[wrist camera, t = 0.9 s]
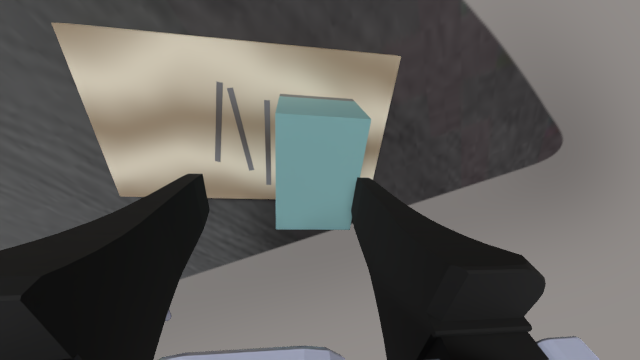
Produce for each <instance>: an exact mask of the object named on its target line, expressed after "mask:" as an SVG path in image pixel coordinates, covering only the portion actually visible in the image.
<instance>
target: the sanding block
mask: <svg viewBox="0 0 640 360" xmlns="http://www.w3.org/2000/svg"><path fill="white" fill-rule="evenodd" d="M370 124H371V118H370V117H369V116H368V115H367V114H366V113H365V112H364V111H363V110H362V109H361V108H360V107H359V105H358V104H357V103H356V102H355V101H354V100H353V99H346V98H332V97H318V96H304V95H290V94H280V96H279V100H278V104H277V108H276V112H275V160H276V229H321V230H350V225H351V220H352V214H351V208H352V203H353V197H354V191H355V186H356V180H357V177H359V178H360V174H361V169H362V164H363V159H364V154H365V149H366V144H367V139H368V134H369V129H370Z"/></svg>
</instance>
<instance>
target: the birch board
mask: <svg viewBox="0 0 640 360" xmlns="http://www.w3.org/2000/svg"><path fill="white" fill-rule="evenodd" d="M52 26H53V28H54V31H55V33H56V36H57V38H58V41H59V43H60V46H61V48H62V51H63V53H64V56H65V58H66V61H67V63H68V66H69V68H70V71H71V74H72V76H73V79H74V81H75V84H76V86H77V89H78V91H79V94H80V96H81V99H82V101H83V104H84V106H85V109H86V111H87V114H88V116H89V119H90V122H91V124H92V127H93V129H94V132H95V134H96V137H97V139H98V142H99V144H100V147H101V149H102V152H103V154H104V157H105V159H106V162H107V164H108V167H109V169H110V172H111V175H112V177H113V180H114V182H115V185H116V187H117V190H118V192H119V195H120V196H127V197H146V196H148V195H149V194H151V193H153V192H155V191H157V190H158V189H160V188H162V187H164V186H166V185H167V184H169V183H171V182H173V181H175V180H176V179H178V178H180V177H182V176H184V175H186V174H203V178H204V184H205V189H206V194H207V198H235V199H276V160H275V112H276V108H277V104H278V100H279V96H280V94H290V95H304V96H318V97H332V98H346V99H353V100H354V101H355V102H356V103H357V104H358V105H359V107H360V108H361V109H362V110H363V111H364V112H365V113H366V114H367V115H368V116H369V117H370V118H371V124H370V129H369V134H368V139H367V144H366V149H365V154H364V159H363V164H362V169H361V174H360V178H370V179H372V180H373V177H374V172H375V168H376V164H377V159H378V155H379V150H380V146H381V142H382V137H383V133H384V129H385V124H386V120H387V116H388V111H389V107H390V102H391V98H392V94H393V89H394V85H395V81H396V76H397V72H398V68H399V63H400V59H401V56H396V55H388V54H378V53H367V52H357V51H347V50H336V49H326V48H316V47H306V46H295V45H285V44H275V43H265V42H254V41H244V40H234V39H223V38H213V37H203V36H193V35H182V34H172V33H162V32H152V31H141V30H131V29H121V28H110V27H100V26H90V25H80V24H67V23H52Z"/></svg>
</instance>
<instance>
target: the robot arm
mask: <svg viewBox="0 0 640 360" xmlns="http://www.w3.org/2000/svg"><path fill="white" fill-rule="evenodd" d="M208 213H209V205H208V199H207V194H206V189H205V184H204V178H203V174H186V175H184V176H182V177H180V178H178V179H176V180H175V181H173V182H171V183H169V184H167V185H166V186H164V187H162V188H160V189H158V190H157V191H155V192H153V193H151V194H149V195H148V196H146V197H144V198H142V199H140V200H138V201H136V202H134V203H132V204H130V205H128V206H126V207H124V208H122V209H120V210H117V211H115V212H113V213H111V214H108V215H106V216H104V217H101V218H99V219H96V220H94V221H91V222H89V223H86V224H83V225H80V226H78V227H75V228H72V229H69V230H66V231H64V232H61V233H58V234H55V235H52V236H49V237H45V238H42V239H39V240H36V241H33V242H29V243H26V244H22V245H19V246H15V247H12V248H8V249H4V250H1V251H0V360H153V359H154V355H155V351H156V348H157V345H158V342H159V338H160V335H161V332H162V328H163V325H164V322H165V321H168V320H170V319H171V313H170V311H169V307H170V304H171V301H172V298H173V296H174V293H175V290H176V287H177V285H178V282H179V279H180V277H181V275H182V272H183V270H184V268H185V266H186V264H187V262H188V260H189V258H190V256H191V254H192V252H193V250H194V248H195V246H196V244H197V242H198V240H199V237H200V235H201V233H202V231H203V229H204V226H205V223H206V220H207V217H208ZM351 214H352V219H353V224H354V229H355V231H356V234H357V237H358V240H359V243H360V246H361V249H362V252H363V254H364V257H365V260H366V263H367V266H368V269H369V273H370V276H371V281H372V285H373V289H374V293H375V298H376V303H377V307H378V312H379V317H380V322H381V328H382V333H383V338H384V344H385V350H386V356H387V360H600V359H599V358H598V357H597V356H596V355H595V354H594V353H593V352H592V351H591V350H590V349H589V347H588V346H586V344H585V343H584V342H583V341H582V340H581V339H580V338H579V337H575V336H572V337H556V338H546V339H542V340H540V341H537V342H535V341H534V339H533V338H532V337H531V336H530V334H529V333H528V332H529V331H531V330H532V327H531V325H530V324H529V322H528V321H527V320H526V319H525V317H524V316H525V314H526V313H527V312H528V311H529V310H530V309H531V308H532V306H533V305H534V304H535V303H536V302H537V301H538V299H539V298H540V297H541V295H542V294H543V292H544V288H545V279H544V277H543V276H542V275H541V274H540V273H539V272H538V271H537V270H536V269H535V268H534V267H533V266H532V265H531V264H530V263H529V262H528V261H527V260H526V259H525V258H524V257H523V256H522V255H519V254H516V253H512V252H510V251H506V250H503V249H500V248H497V247H494V246H490V245H488V244H484V243H482V242H480V241H476V240H474V239H471V238H469V237H466V236H464V235H462V234H459V233H457V232H455V231H452V230H450V229H448V228H446V227H444V226H442V225H440V224H438V223H436V222H434V221H432V220H430V219H428V218H427V217H425V216H423V215H421V214H420V213H418V212H416V211H415V210H413V209H412V208H410V207H409V206H407V205H406V204H404V203H403V202H401V201H400V200H399V199H397V198H396V197H394V196H393V195H392V194H390V193H389V192H388V191H387V190H385V189H384V188H383V187H381V186H380V185H379V184H377V183H376V182H375V181H373V180H372V179H370V178H359V177H357V180H356V186H355V191H354V197H353V203H352V208H351ZM159 360H345V358H344V357H342V356H341V355H340V354H338V353H336V352H334V351H332V350H330V349H328V348H326V347H313V346H290V347H273V348H258V349H240V350H223V351H206V352H189V353H182V354H177V355H172V356H167V357H162V358H160V359H159Z"/></svg>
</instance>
